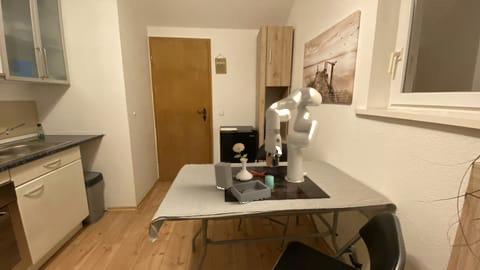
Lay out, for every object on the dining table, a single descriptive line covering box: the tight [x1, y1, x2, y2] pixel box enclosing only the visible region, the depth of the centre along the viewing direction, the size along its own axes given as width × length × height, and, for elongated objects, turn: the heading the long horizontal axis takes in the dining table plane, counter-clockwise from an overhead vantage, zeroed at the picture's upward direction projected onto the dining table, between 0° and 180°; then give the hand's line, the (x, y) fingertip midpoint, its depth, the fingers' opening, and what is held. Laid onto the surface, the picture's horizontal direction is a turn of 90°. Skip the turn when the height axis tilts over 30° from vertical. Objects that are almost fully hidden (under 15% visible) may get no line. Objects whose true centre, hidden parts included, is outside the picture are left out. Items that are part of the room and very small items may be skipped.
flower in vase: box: [232, 142, 253, 181], centre depth 142 cm, size 13×11×25 cm
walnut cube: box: [265, 154, 280, 168], centre depth 117 cm, size 5×5×5 cm
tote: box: [230, 179, 272, 203], centre depth 119 cm, size 18×14×5 cm
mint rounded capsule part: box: [264, 175, 275, 190], centre depth 128 cm, size 5×5×7 cm
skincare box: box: [213, 161, 234, 189], centre depth 128 cm, size 8×7×16 cm
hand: (272, 164), depth 117 cm, fingers closed on walnut cube, 5 cm apart
